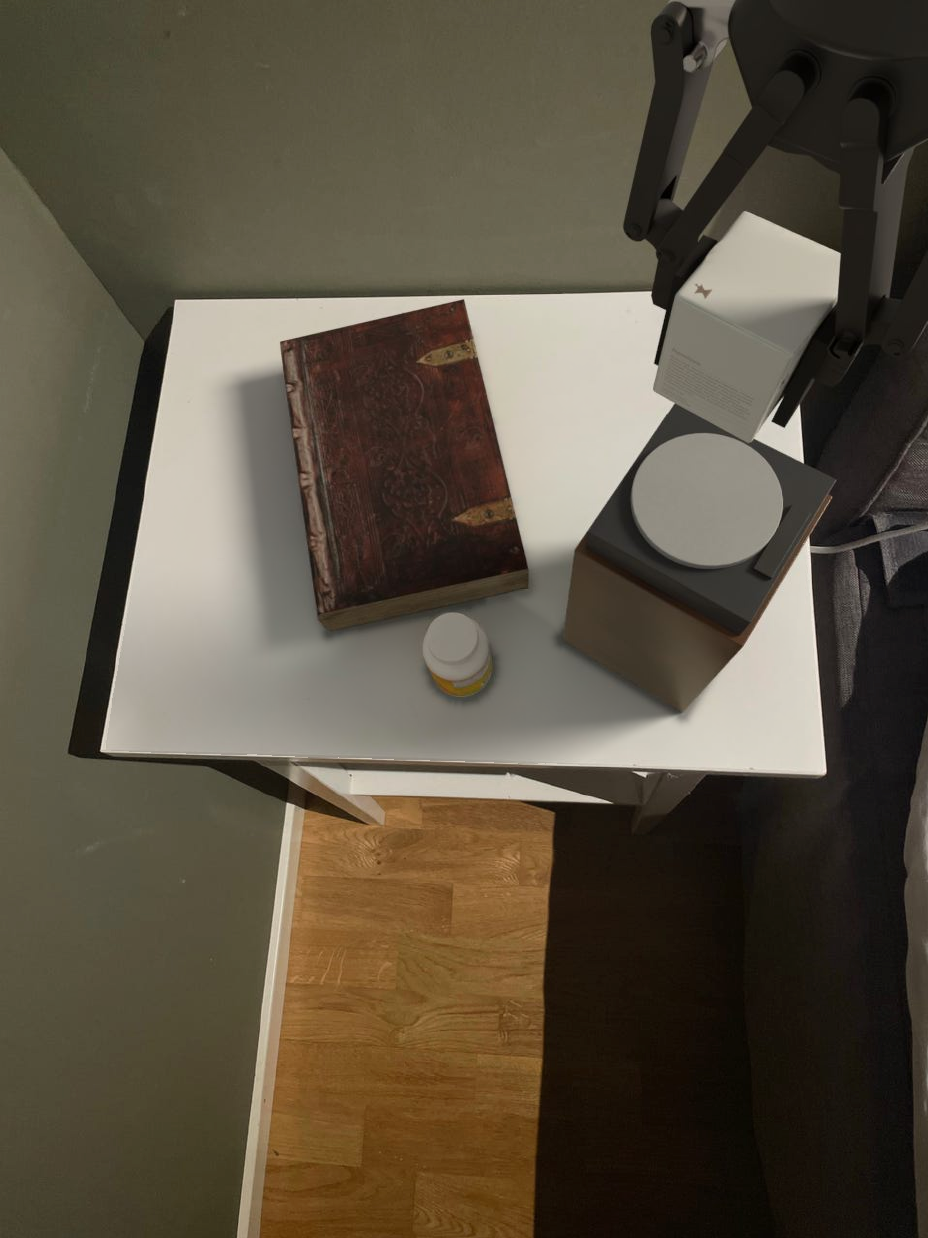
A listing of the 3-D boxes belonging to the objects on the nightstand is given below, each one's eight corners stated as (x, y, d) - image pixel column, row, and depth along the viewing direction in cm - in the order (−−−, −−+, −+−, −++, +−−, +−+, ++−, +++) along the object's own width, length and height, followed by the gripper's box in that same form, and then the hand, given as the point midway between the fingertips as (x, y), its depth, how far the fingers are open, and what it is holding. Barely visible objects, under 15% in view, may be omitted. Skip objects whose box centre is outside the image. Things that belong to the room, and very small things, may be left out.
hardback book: (290, 371, 81) (275, 339, 76) (467, 333, 80) (464, 298, 76) (327, 631, 71) (313, 614, 66) (528, 589, 71) (528, 568, 66)
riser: (750, 601, 69) (833, 496, 50) (682, 713, 66) (743, 646, 47) (631, 535, 72) (667, 412, 53) (562, 640, 69) (574, 550, 50)
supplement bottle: (424, 651, 70) (408, 616, 61) (480, 631, 70) (473, 593, 61) (443, 707, 68) (429, 680, 59) (501, 686, 68) (496, 656, 59)
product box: (749, 449, 40) (793, 358, 33) (648, 392, 42) (670, 294, 35) (810, 365, 41) (865, 261, 34) (710, 313, 43) (743, 204, 36)
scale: (822, 498, 50) (840, 474, 47) (739, 636, 48) (753, 620, 45) (670, 421, 53) (678, 394, 50) (584, 547, 50) (588, 527, 47)
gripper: (544, -202, 21) (539, 349, 43) (1316, 29, 16) (869, 517, 38) (683, -346, 23) (610, 255, 45) (1422, -176, 18) (935, 405, 40)
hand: (730, 375), depth 41 cm, fingers closed on product box, 6 cm apart
